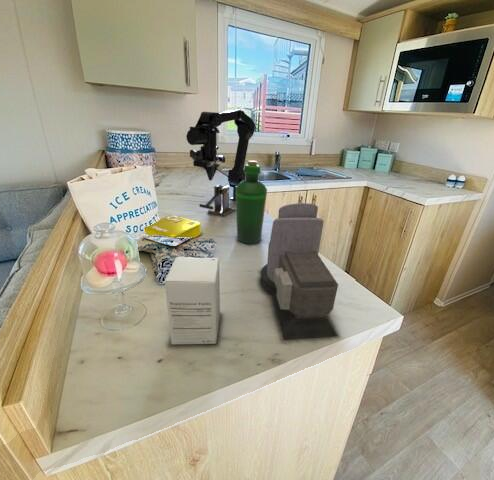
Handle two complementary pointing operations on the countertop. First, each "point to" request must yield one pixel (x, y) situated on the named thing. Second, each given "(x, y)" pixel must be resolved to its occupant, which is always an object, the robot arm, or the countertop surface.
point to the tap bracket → (223, 208)
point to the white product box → (193, 300)
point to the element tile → (174, 227)
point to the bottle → (250, 205)
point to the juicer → (299, 274)
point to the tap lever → (212, 199)
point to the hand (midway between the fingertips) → (210, 180)
